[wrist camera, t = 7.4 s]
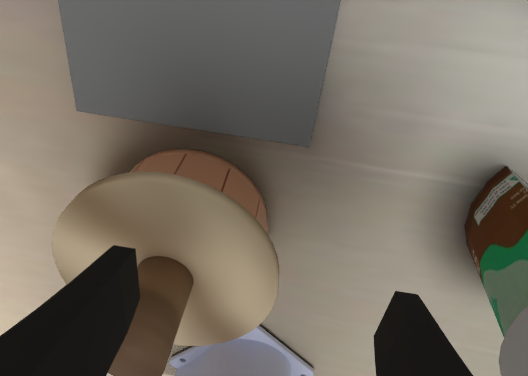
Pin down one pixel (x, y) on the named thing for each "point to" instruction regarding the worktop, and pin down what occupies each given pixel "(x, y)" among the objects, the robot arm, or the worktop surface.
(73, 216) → the oak lid
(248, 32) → the charcoal mat
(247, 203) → the terracotta bowl
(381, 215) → the worktop surface
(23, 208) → the worktop surface
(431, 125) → the worktop surface
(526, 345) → the food container
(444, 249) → the worktop surface
